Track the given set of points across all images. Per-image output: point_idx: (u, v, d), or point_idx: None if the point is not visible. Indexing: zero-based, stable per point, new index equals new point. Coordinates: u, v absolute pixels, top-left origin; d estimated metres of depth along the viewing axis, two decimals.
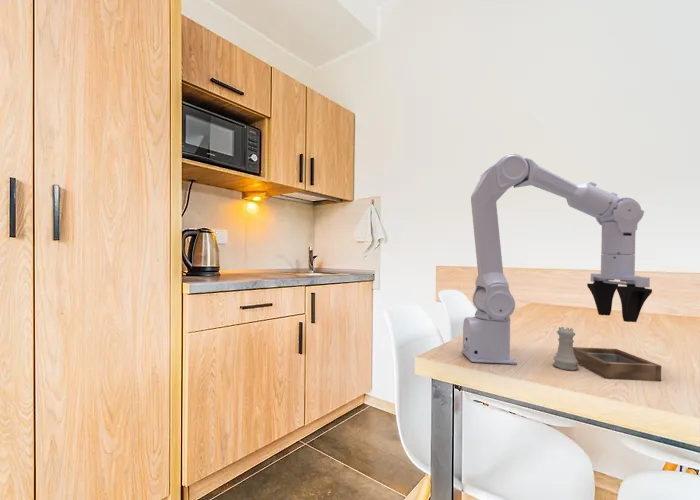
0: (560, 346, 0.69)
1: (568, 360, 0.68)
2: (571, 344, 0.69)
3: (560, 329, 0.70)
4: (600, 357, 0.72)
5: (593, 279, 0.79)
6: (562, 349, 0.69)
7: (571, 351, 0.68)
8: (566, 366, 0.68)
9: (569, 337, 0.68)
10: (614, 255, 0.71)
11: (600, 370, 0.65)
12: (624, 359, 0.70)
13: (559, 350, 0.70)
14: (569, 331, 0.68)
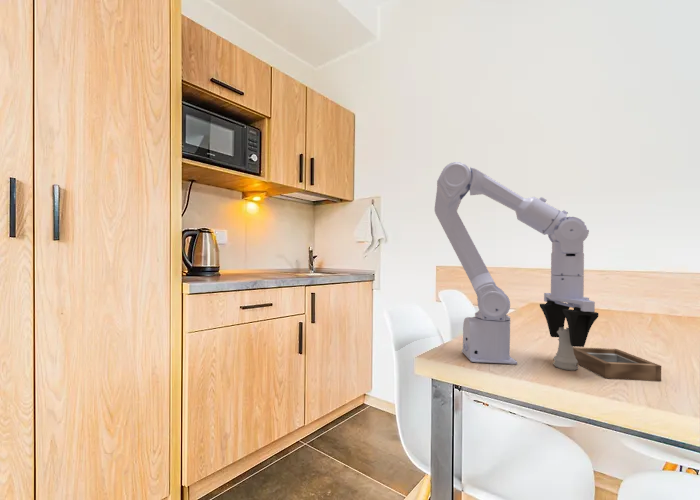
0: (560, 346, 0.69)
1: (568, 360, 0.68)
2: None
3: (560, 329, 0.70)
4: (600, 357, 0.72)
5: (546, 299, 0.76)
6: (562, 349, 0.69)
7: (571, 351, 0.68)
8: (566, 366, 0.68)
9: (569, 337, 0.68)
10: (562, 276, 0.68)
11: (600, 370, 0.65)
12: (624, 359, 0.70)
13: (559, 350, 0.70)
14: None
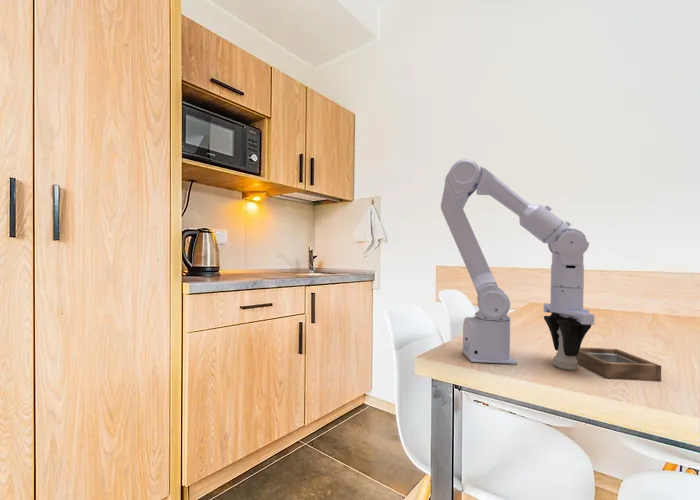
0: (560, 346, 0.69)
1: (568, 360, 0.68)
2: None
3: None
4: (600, 357, 0.72)
5: (546, 310, 0.76)
6: (562, 349, 0.69)
7: None
8: (566, 366, 0.68)
9: None
10: (562, 288, 0.68)
11: (600, 370, 0.65)
12: (624, 359, 0.70)
13: (559, 350, 0.69)
14: None
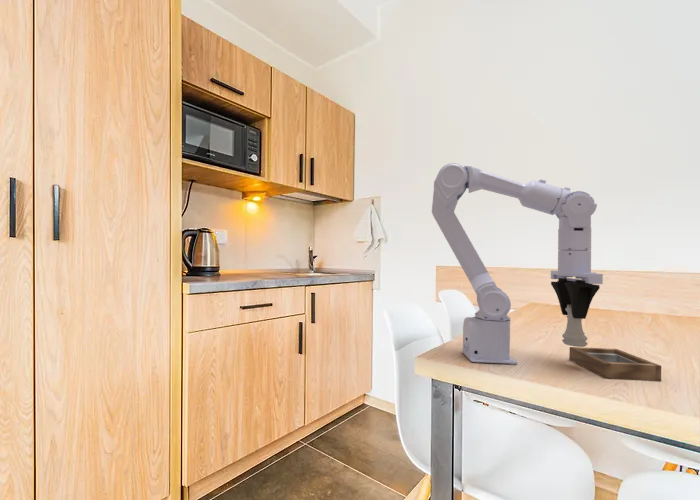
0: (568, 323, 0.69)
1: (576, 336, 0.68)
2: (580, 320, 0.69)
3: (568, 306, 0.70)
4: (600, 357, 0.72)
5: (553, 276, 0.76)
6: (570, 326, 0.69)
7: (580, 327, 0.68)
8: (575, 342, 0.68)
9: None
10: (569, 251, 0.68)
11: (600, 370, 0.65)
12: (624, 359, 0.70)
13: (568, 327, 0.69)
14: None
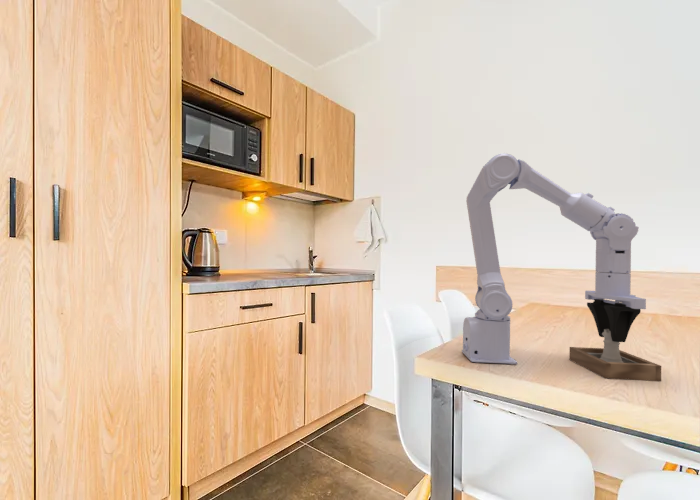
0: (605, 348, 0.69)
1: None
2: (617, 346, 0.68)
3: (605, 331, 0.69)
4: (600, 357, 0.72)
5: (588, 297, 0.76)
6: (608, 351, 0.68)
7: (617, 353, 0.68)
8: None
9: None
10: (609, 274, 0.67)
11: (600, 370, 0.65)
12: (624, 359, 0.70)
13: (605, 352, 0.69)
14: None
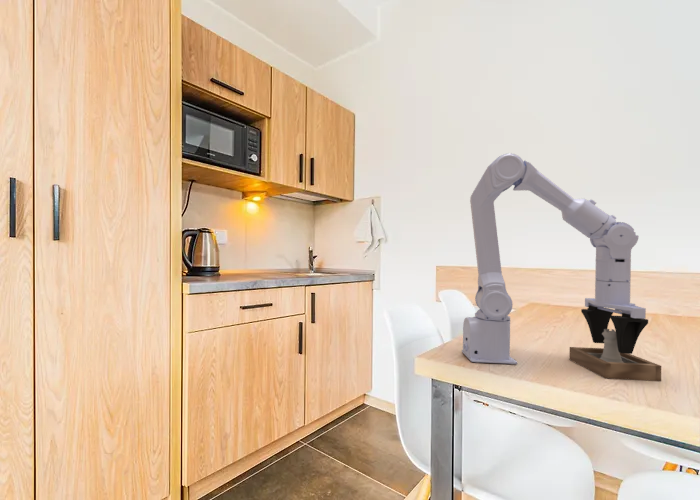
0: (606, 348, 0.69)
1: None
2: None
3: (605, 331, 0.69)
4: (600, 357, 0.72)
5: (587, 304, 0.76)
6: (608, 351, 0.68)
7: (617, 353, 0.68)
8: None
9: (615, 339, 0.68)
10: (608, 282, 0.67)
11: (600, 370, 0.65)
12: (624, 359, 0.70)
13: (605, 352, 0.69)
14: (615, 333, 0.68)
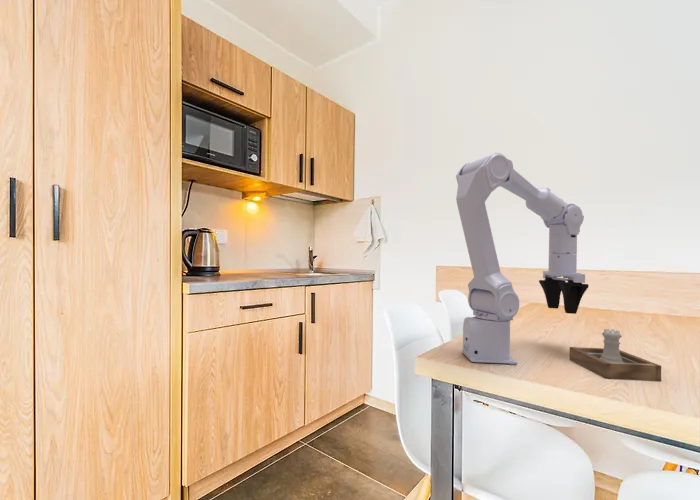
0: (606, 348, 0.69)
1: None
2: (617, 346, 0.68)
3: (605, 331, 0.69)
4: (600, 357, 0.72)
5: (544, 276, 0.88)
6: (608, 351, 0.68)
7: (617, 353, 0.68)
8: None
9: (615, 339, 0.68)
10: (558, 254, 0.80)
11: (600, 370, 0.65)
12: (624, 359, 0.70)
13: (605, 352, 0.69)
14: (615, 333, 0.68)
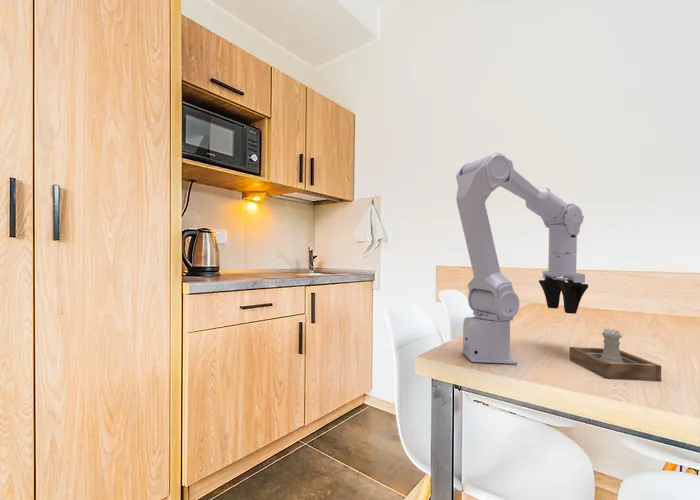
0: (606, 348, 0.69)
1: None
2: (617, 346, 0.68)
3: (605, 331, 0.69)
4: (600, 357, 0.72)
5: (544, 276, 0.88)
6: (608, 351, 0.68)
7: (617, 353, 0.68)
8: None
9: (615, 339, 0.68)
10: (558, 254, 0.80)
11: (600, 370, 0.65)
12: (624, 359, 0.70)
13: (605, 352, 0.69)
14: (615, 333, 0.68)
